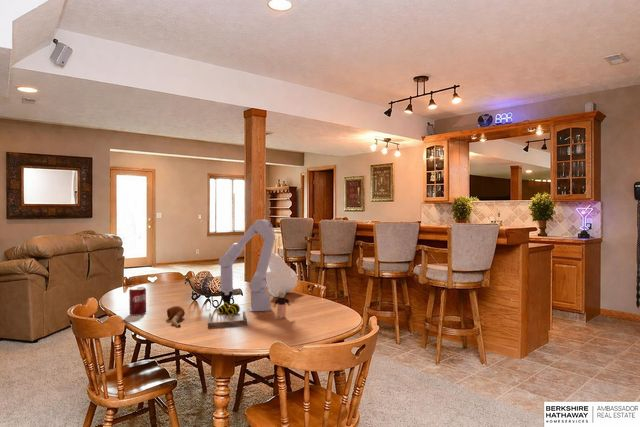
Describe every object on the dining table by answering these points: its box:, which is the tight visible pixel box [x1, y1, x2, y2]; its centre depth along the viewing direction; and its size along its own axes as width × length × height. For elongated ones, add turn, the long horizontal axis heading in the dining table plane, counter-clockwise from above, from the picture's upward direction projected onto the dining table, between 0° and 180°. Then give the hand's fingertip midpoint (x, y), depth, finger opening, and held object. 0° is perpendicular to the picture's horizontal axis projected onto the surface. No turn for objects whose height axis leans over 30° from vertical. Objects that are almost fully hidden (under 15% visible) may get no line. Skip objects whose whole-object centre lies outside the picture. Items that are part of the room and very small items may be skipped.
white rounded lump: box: [266, 250, 298, 298], centre depth 241 cm, size 25×16×25 cm
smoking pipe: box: [166, 305, 186, 328], centre depth 184 cm, size 7×18×6 cm, turn 29°
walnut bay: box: [207, 311, 248, 329], centre depth 184 cm, size 16×16×2 cm
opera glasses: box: [217, 302, 241, 316], centre depth 198 cm, size 10×5×5 cm, turn 60°
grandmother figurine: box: [272, 290, 291, 320], centre depth 189 cm, size 8×4×13 cm, turn 118°
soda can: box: [128, 286, 147, 316], centre depth 199 cm, size 7×7×12 cm
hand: (226, 307), depth 208 cm, fingers closed
